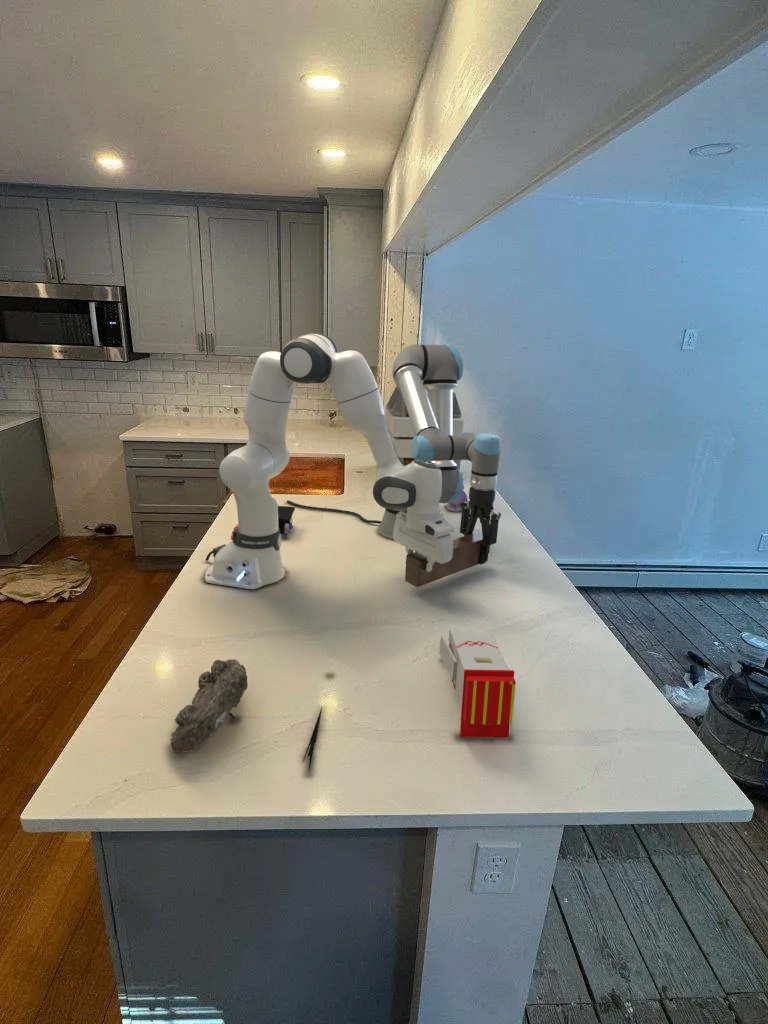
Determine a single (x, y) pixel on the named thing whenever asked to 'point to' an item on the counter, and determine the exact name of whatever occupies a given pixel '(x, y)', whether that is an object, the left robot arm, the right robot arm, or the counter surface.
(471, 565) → the walnut beam
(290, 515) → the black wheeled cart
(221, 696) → the fossil
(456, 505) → the figurine
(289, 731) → the counter surface
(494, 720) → the toy
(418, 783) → the counter surface
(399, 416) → the transformer
